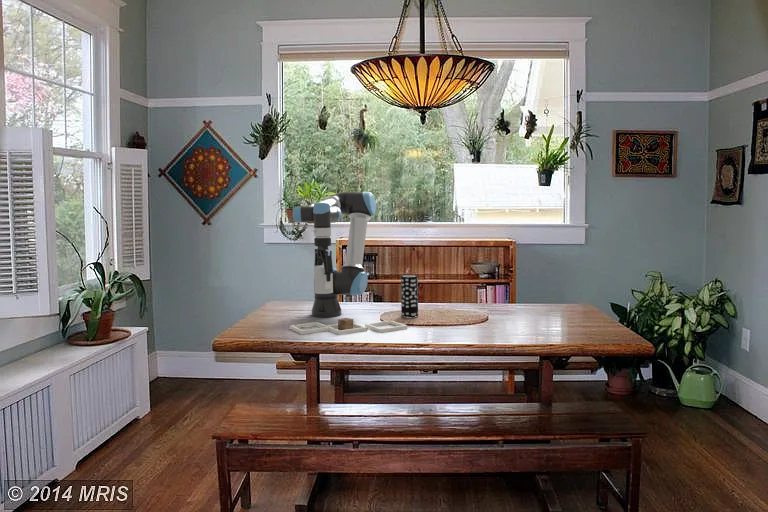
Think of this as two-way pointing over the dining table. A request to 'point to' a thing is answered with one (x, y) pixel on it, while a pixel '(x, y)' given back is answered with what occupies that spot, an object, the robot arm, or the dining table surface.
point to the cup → (321, 280)
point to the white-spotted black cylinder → (409, 295)
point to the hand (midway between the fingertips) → (323, 287)
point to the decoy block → (345, 324)
